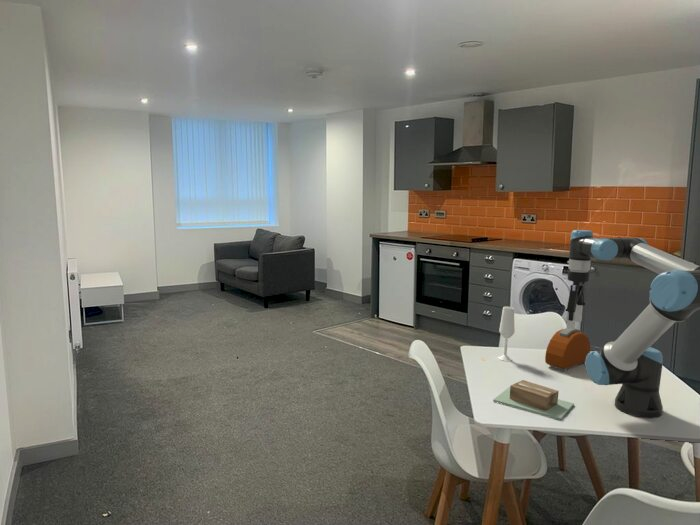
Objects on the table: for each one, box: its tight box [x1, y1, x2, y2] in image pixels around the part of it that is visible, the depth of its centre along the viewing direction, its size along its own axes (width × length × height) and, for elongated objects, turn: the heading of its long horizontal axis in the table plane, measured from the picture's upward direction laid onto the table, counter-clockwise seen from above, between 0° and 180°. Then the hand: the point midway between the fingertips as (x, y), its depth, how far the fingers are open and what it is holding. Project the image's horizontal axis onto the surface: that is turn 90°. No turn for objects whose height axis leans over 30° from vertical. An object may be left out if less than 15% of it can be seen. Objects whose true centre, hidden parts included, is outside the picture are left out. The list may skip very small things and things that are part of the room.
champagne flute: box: [497, 306, 516, 362], centre depth 241 cm, size 7×7×24 cm
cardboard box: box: [509, 379, 559, 411], centre depth 193 cm, size 9×14×5 cm, turn 43°
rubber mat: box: [493, 386, 575, 421], centre depth 194 cm, size 24×16×1 cm, turn 53°
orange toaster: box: [544, 327, 591, 372], centre depth 236 cm, size 23×9×17 cm, turn 129°
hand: (574, 325), depth 205 cm, fingers open, 13 cm apart
